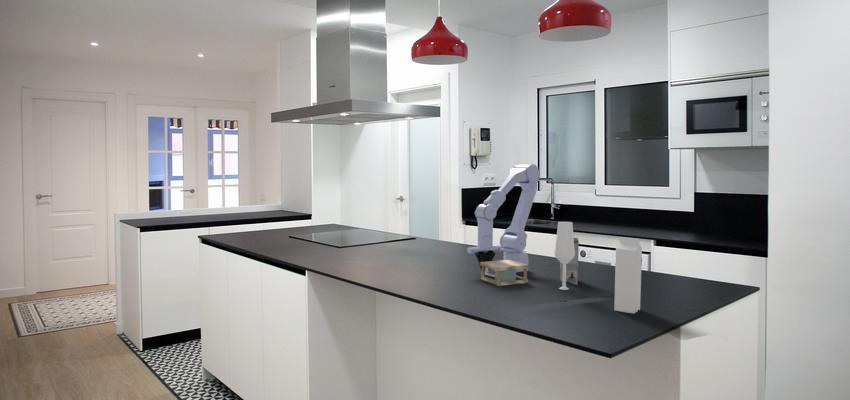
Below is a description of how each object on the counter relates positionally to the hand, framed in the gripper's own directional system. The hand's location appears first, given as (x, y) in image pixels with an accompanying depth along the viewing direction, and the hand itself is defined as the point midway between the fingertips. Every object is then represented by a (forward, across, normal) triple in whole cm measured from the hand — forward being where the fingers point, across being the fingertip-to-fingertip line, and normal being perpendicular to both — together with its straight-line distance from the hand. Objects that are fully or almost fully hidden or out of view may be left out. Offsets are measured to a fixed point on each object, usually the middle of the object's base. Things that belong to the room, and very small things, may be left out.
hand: (484, 270), depth 220 cm
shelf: (+3, 0, -9) cm, 10 cm away
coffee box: (+3, +24, -20) cm, 31 cm away
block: (+1, 0, -7) cm, 8 cm away
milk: (+3, +14, -59) cm, 61 cm away
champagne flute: (+3, +12, -32) cm, 34 cm away
